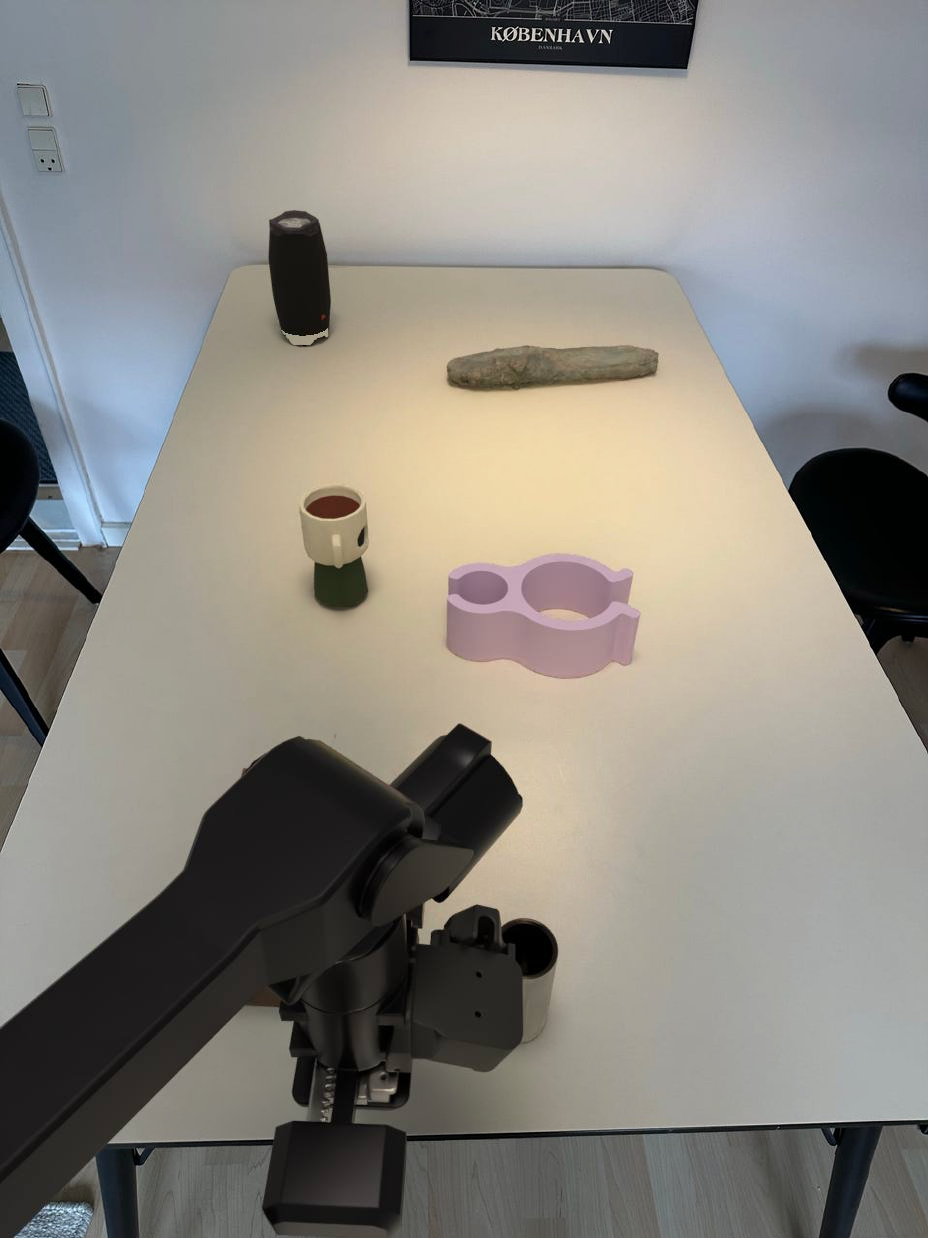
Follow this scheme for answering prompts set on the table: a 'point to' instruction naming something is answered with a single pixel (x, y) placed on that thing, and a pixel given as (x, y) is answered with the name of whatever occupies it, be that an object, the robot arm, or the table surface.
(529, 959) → the grey hollow tube
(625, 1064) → the table surface
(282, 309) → the portable speaker
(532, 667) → the clip
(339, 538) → the character mug
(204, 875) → the robot arm
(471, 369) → the elongated rock
